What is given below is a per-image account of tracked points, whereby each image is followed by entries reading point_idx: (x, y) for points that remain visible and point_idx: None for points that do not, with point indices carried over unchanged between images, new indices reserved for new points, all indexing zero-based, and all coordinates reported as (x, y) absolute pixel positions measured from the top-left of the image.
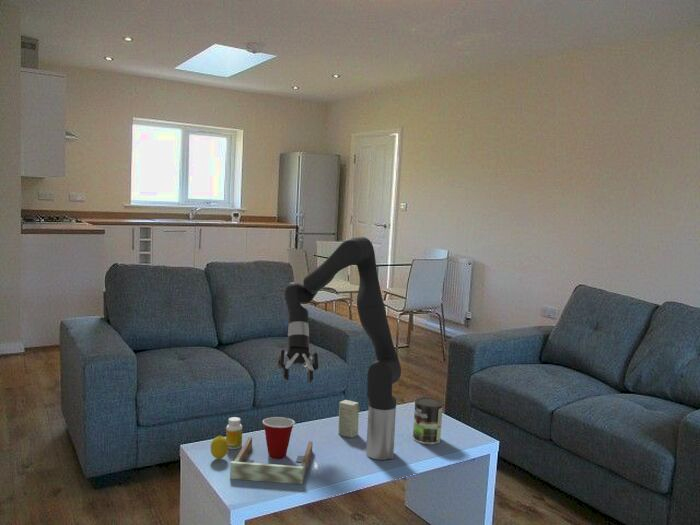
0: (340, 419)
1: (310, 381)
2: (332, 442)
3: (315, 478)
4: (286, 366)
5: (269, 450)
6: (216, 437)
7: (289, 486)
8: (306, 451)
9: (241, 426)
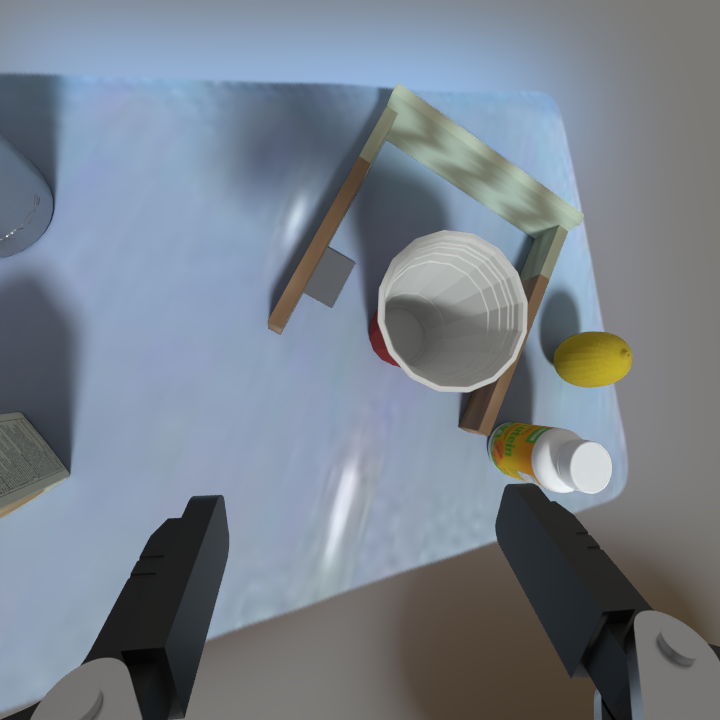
0: (13, 488)
1: (207, 496)
2: (146, 389)
3: (330, 137)
4: (695, 652)
5: (437, 320)
6: (631, 358)
7: None
8: (325, 240)
9: (543, 448)
